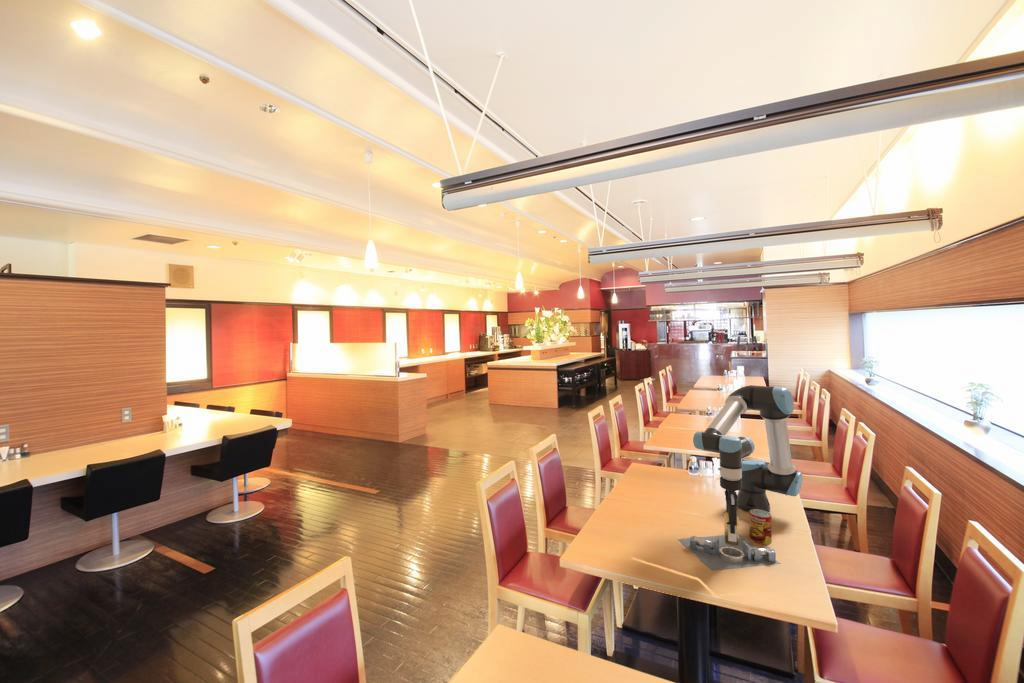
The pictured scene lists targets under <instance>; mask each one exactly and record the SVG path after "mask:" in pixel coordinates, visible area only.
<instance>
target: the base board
mask: <svg viewBox="0 0 1024 683" xmlns="http://www.w3.org/2000/svg"><path fill="white" fill-rule="evenodd" d="M738 535H739V544H738V545H737V546H732V545H728V544H726V543H725V535H724V534H721V535H710V536H698V537H699V539H703V540H706V539H707V540H711V541H712V542H714V540H715V538H716V537H719V552H718V554H717V556H714V550H712V551H711V553H710V554H708V553H704V552H703V547H701V546H699V547H698V549H697V550H693V549H690V537H687V538H677V541H679V542H680V543H681V544H682V545H683V546H684V547H685V548H686V549H687V550H688V551H689V552H690V553H692V554H693V555H694V556H695V557H696V558H697V559H698V560H699V561H701V563H703V564H704V565H705V566H706V567H707V568H708V569H709V570H711V572H712V571H721V570H731V569H741V568H743V569H744V568H753V567H761V566H771V565H772V566H773V565H781V564H782V563H781V562H780V561H778V560H777V559H776V562H768V561H767V559H766V558H765V557H764V556H761V557H762V562H756V561H754V560H753V559H752V558H751V561H748V560H747V559H746V558H745V561H744V562H743V563H731V562H728V561H725V560H723V559H722V558H721V557H720V548H722V547H733V548H736V549H739V550H741V551H742V552H743V541H746V542H747V544H748V545H749V546H751V547H757V548H759V547H758V546H756V545H755V544H753V543H752V542H750V540H748V539H747V538H744V537H743V536H742V535H740V533H738ZM724 554H726V555H729V556H732V557H740V556H739V555H736V554H733V553H724Z"/></svg>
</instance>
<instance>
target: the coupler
mask: <svg viewBox="0 0 1024 683" xmlns="http://www.w3.org/2000/svg"><path fill="white" fill-rule="evenodd" d="M723 518H724V520H723V521H724V522H723V524H724V529H723V531H724V532H723V533H724V534H723V535H725V543H726V544H728V545H732V546H737V545H738V544H739V535H740V534H739V513H737V526H736V537H737V542H733V541H728V524H727V522H729V516H728V512H726V511H724V513H723ZM738 534H739V535H738Z"/></svg>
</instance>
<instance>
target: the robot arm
mask: <svg viewBox="0 0 1024 683" xmlns="http://www.w3.org/2000/svg"><path fill="white" fill-rule="evenodd" d="M794 408H795V402H794V397H793V395H792V393H791V391H790V390H789V389H788V388H786V387H779V386H769V385H768V386H766V385H751V384H750V385H745V386H742V387H740V388H738V389H736V390H733V392H731V393H730V394H729V395H728V396H727V397H726V399H725V402H724V405H723V406H722V408H721V409H720V411H719V412H718V414H716V416H715V418H713V420H712V421H711V423H710V424H709V425H708V427H707V428H706V429H705V430H704V431H695V433H694V435H693V438H692V441H693V442H692V443H693V446H694V447H695V449H697V450H701V451H703V452H704V451H705V452H709V453H710V452H711V453H714V454H715V453H716V454H719V467H718V468H717V470H718V471H719V475H720V476H719V486H720V488H722V489H724V496H725V512H728V516H729V522H727V524H728V541H733V542H737V537H736V526H737V514H738V512H737V511H738V510H737V509H739V510H742V511H745V512H749V513H750V510H752V509H760V510H765V511H767V512H769V513H770V512H771V504H770V501H769V498H768V496H767V491H768V492H773V493H777V494H780V495H785V496H789V497H797V496H799V494H800V491H801V489H802V485H803V473H802V472H800V471H797V470H798V469H797V466H796V465H795V464H793V462H792V454H791V446H790V438H789V437H790V436H789V429H788V421H787V420H788V419H789V417H790V415H791V414H792V413H794ZM747 411H758V412H759V414H760V415H759V416H760V417H761V418H762V419H764V424H765V432H766V439H767V447H768V454H769V460H770V462H769V463H768V464H766V462H765V461H763V460H759V459H747V460H742V459H744V458H747V457H749V456H750V455H751V454H753V453H754V452H755V443H754V441H753V440H752V439H751V438H749V437H747V436H734V435H733V436H731V435H728V436H727V434H728V433H729V432H730V430H731V429H732V428H733V426H734V425H735V423H736V421H737V420H738V419H739V417H740V416H741V415H742V414H745V413H746V412H747ZM736 491H738V492H736Z"/></svg>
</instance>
